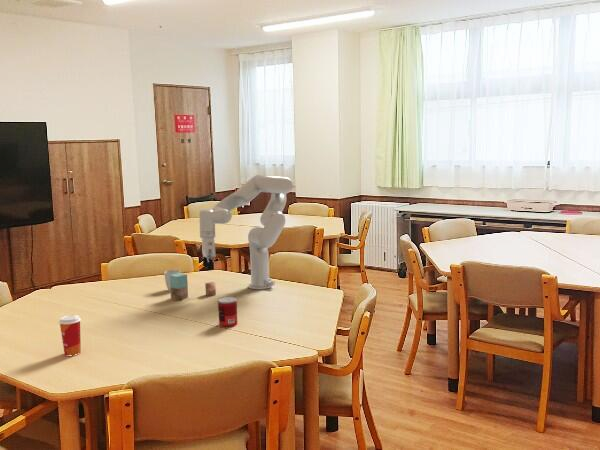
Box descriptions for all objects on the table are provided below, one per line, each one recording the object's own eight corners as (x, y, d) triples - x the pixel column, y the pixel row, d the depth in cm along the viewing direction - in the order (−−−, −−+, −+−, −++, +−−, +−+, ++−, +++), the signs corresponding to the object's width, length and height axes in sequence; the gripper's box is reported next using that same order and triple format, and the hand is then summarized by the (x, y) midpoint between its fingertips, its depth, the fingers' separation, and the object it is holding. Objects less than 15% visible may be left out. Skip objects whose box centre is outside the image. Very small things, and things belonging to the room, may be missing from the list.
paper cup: (65, 350, 230) (62, 314, 228) (85, 349, 230) (83, 313, 228) (58, 358, 222) (55, 321, 220) (80, 356, 223) (77, 320, 221)
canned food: (240, 322, 259) (239, 297, 257) (232, 328, 252) (231, 302, 250) (224, 321, 262) (223, 296, 260) (216, 326, 254) (214, 301, 252)
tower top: (187, 286, 299) (187, 274, 298) (177, 288, 295) (176, 276, 294) (180, 284, 303) (180, 272, 302) (170, 287, 299) (169, 275, 298)
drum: (217, 294, 306) (217, 282, 305) (211, 296, 301) (211, 285, 301) (210, 293, 308) (209, 281, 307) (203, 295, 304) (203, 284, 303)
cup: (177, 292, 311) (176, 273, 310) (162, 292, 313) (161, 273, 311) (183, 288, 319) (182, 270, 318) (169, 288, 321) (168, 269, 319)
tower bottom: (188, 297, 301) (187, 285, 300) (181, 300, 296) (181, 288, 295) (177, 296, 303) (176, 285, 302) (171, 299, 298) (170, 287, 297)
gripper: (219, 236, 293) (219, 270, 296) (211, 231, 309) (211, 264, 312) (203, 237, 291) (204, 272, 293) (196, 232, 307) (197, 265, 309)
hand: (208, 268), depth 302 cm, fingers open, 9 cm apart
